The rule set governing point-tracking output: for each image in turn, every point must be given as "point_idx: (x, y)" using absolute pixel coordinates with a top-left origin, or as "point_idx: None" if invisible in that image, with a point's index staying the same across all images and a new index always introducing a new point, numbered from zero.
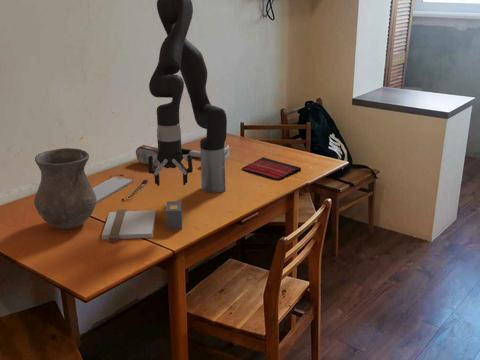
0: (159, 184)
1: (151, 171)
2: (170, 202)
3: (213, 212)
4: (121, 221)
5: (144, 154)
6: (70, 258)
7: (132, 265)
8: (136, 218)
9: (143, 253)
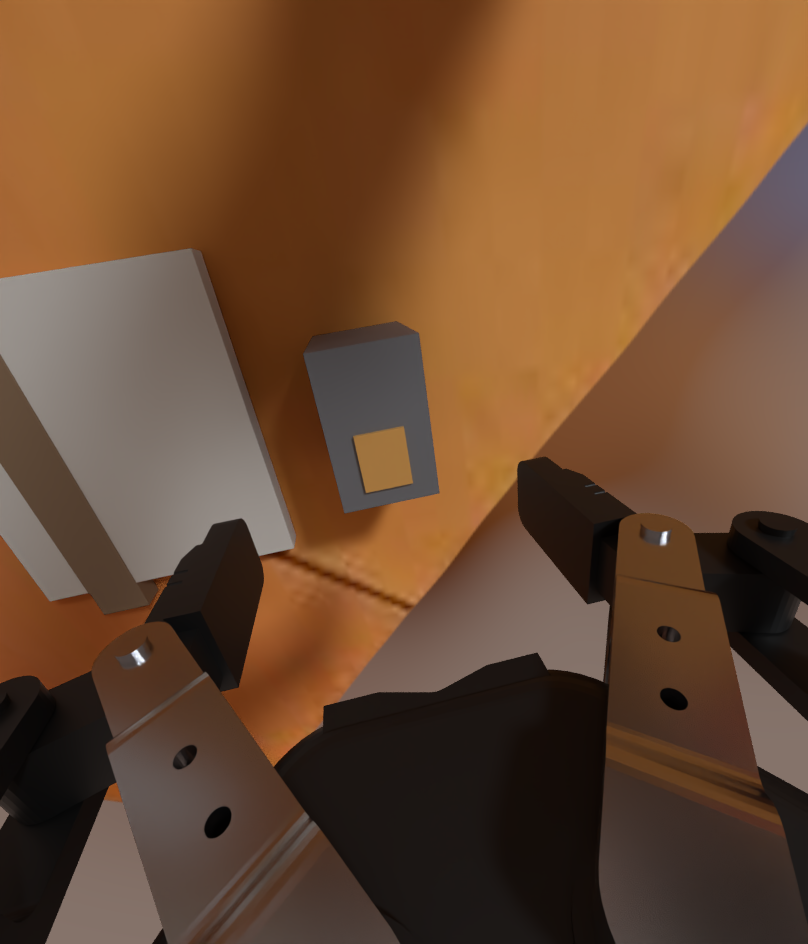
0: (251, 538)
1: (92, 799)
2: (337, 370)
3: (574, 196)
4: (48, 451)
5: None
6: None
7: (300, 702)
8: (120, 396)
9: (308, 641)
